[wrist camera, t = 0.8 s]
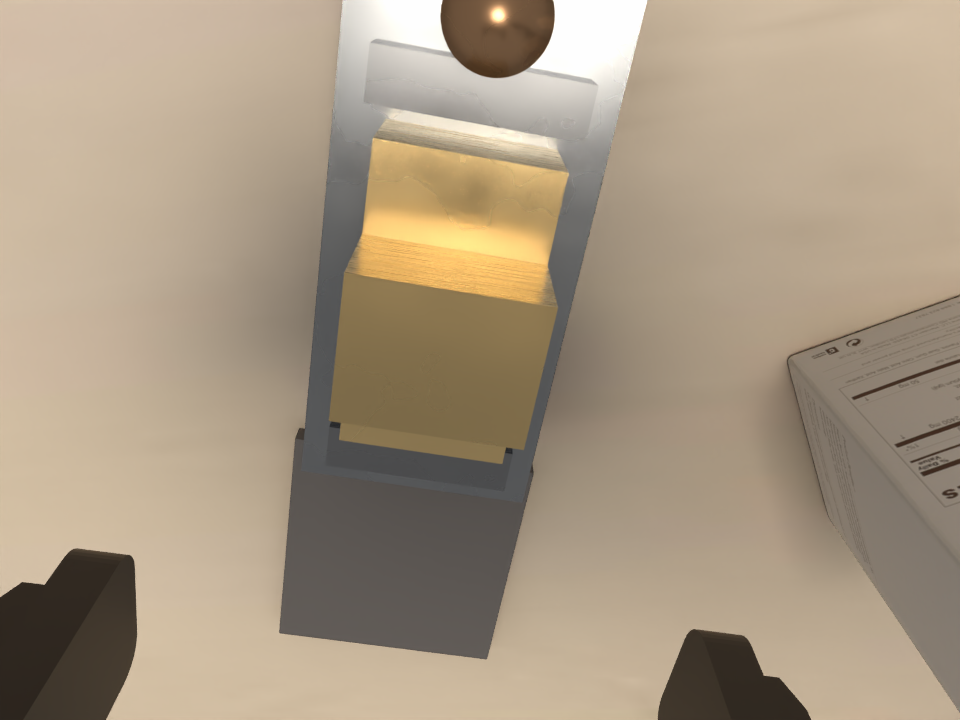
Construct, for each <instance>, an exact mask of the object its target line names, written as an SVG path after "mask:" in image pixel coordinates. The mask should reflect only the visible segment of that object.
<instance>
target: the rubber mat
mask: <svg viewBox="0 0 960 720" xmlns="http://www.w3.org/2000/svg"><path fill="white" fill-rule="evenodd" d="M304 433H305V429H299V431H298V433H297V436H296V438H295V449H294V461H293V473H292V485H291V497H290V509H289V522H288V534H287V546H286V558H285V570H284V582H283V594H282V606H281V618H280V630H279V633H282V634H290V635H298V636H306V637H314V638H322V639H330V640H337V641H345V642H353V643H361V644H369V645H377V646H385V647H393V648H401V649H409V650H417V651H424V652H432V653H440V654H448V655H456V656H464V657H472V658H480V659H487V657H488V653H489V649H490V645H491V641H492V637H493V633H494V629H495V625H496V621H497V617H498V613H499V609H500V605H501V601H502V597H503V593H504V589H505V585H506V581H507V577H508V573H509V569H510V565H511V561H512V557H513V553H514V549H515V545H516V541H517V537H518V533H519V529H520V525H521V521H522V517H523V513H524V509H525V505H526V501H527V497H528V493H529V489H530V485H531V481H532V477H533V465H532V466H531V470H530V474H529V478H528V482H527V486H526V490H525V494H524V499H523V503H520V502H514V501H507V500H500V499H493V498H486V497H479V496H472V495H465V494H458V493H451V492H444V491H437V490H430V489H423V488H416V487H409V486H402V485H395V484H388V483H381V482H374V481H367V480H360V479H353V478H346V477H340V476H333V475H326V474H319V473H312V472H305V471H301V467H302V456H303V444H304Z"/></svg>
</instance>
